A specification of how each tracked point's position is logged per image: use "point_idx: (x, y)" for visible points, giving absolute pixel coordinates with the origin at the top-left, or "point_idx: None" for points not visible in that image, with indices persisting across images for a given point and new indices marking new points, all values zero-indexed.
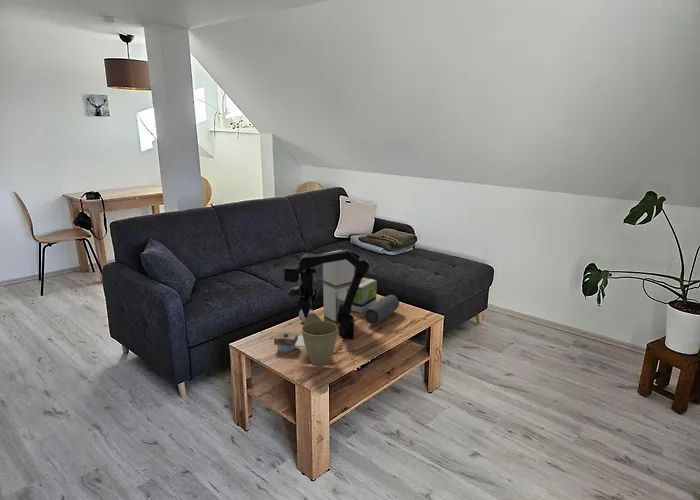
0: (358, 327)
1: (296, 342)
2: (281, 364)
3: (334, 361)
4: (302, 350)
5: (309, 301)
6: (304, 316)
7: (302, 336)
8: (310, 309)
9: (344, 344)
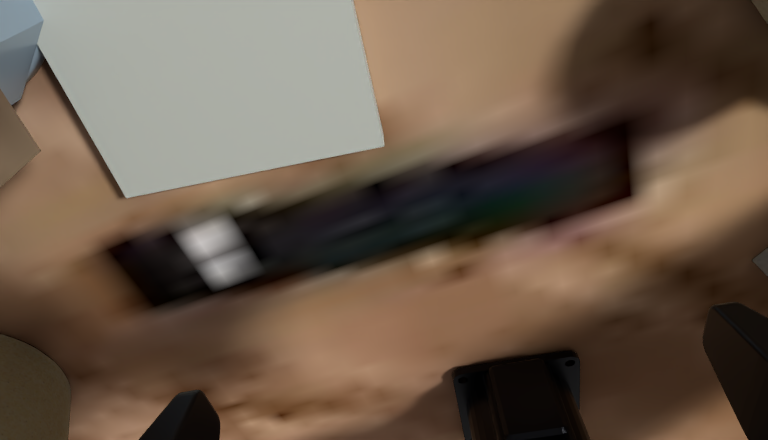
0: (706, 408)
1: (139, 53)
2: None
3: (86, 436)
4: (68, 174)
5: None
6: (157, 420)
7: (341, 52)
8: (709, 341)
9: (370, 414)
